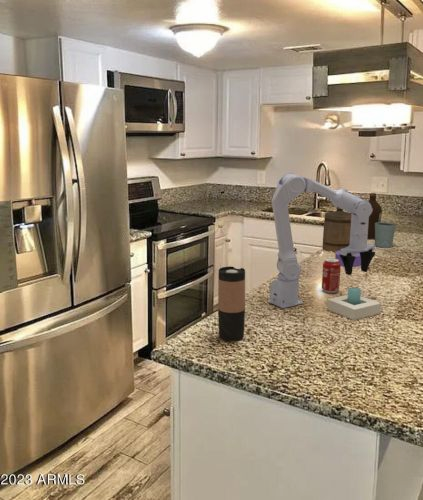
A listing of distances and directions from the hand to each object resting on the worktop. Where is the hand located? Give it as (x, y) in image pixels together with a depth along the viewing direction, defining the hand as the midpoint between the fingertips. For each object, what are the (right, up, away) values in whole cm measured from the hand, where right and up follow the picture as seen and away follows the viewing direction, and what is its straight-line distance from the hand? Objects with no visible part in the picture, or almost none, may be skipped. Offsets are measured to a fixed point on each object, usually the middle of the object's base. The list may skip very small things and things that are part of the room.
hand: (356, 272), depth 175 cm
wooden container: (+14, +8, +81) cm, 82 cm away
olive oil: (+39, +15, +108) cm, 116 cm away
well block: (-4, -12, -9) cm, 16 cm away
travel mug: (-45, -17, -29) cm, 56 cm away
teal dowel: (-4, -12, -9) cm, 15 cm away
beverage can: (-6, -8, +12) cm, 16 cm away
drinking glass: (+39, +10, +87) cm, 95 cm away
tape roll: (+11, +1, +52) cm, 53 cm away
